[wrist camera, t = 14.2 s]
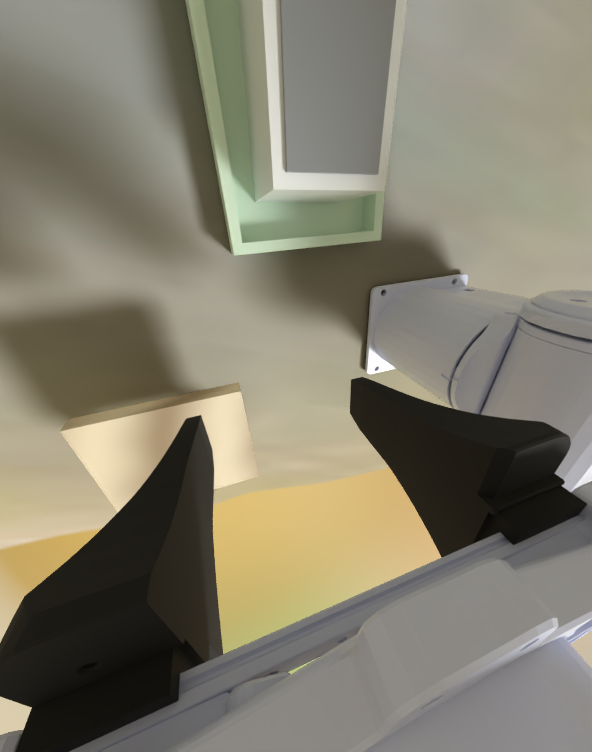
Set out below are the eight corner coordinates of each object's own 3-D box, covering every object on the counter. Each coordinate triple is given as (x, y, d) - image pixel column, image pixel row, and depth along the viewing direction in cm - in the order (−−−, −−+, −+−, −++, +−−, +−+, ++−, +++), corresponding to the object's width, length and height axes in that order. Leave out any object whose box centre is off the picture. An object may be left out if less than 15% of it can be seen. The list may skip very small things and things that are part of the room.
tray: (380, -38, 13) (407, -80, 11) (365, 239, 19) (380, 240, 17) (171, -72, 10) (164, -132, 9) (231, 253, 17) (234, 255, 15)
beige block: (231, 347, 19) (240, 391, 14) (248, 426, 24) (261, 485, 18) (106, 370, 18) (59, 431, 12) (148, 452, 22) (127, 526, 16)
